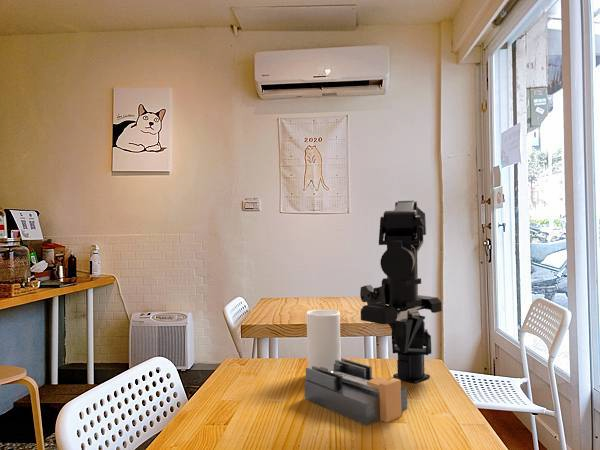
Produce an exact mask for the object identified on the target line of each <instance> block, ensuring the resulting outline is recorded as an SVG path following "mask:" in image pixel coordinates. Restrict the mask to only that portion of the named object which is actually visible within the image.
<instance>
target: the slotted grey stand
mask: <svg viewBox="0 0 600 450" xmlns="http://www.w3.org/2000/svg"><path fill="white" fill-rule="evenodd" d="M372 368H373V367H372V366H370V365H367V364H364V363H359V362H357V361H353V360H351V359H346V358H343V357H342V358H341V361H340V360H335V363H334V370H336V371H338V372H341V373H345V374H348V375H352V376H355V377H359V378H362V379H365V380H372V379H375V377H373V374H372V373H373V370H372ZM303 381H304V399H305V400H307V401H309V402H311V403H313V404H316V405H318V406H320V407H322V408H325V409H327V410H329V411H332V412H334V413H337V414H338V415H341V416H344V417H346V418H347V419H350V420H352V421H354V422H357V423H359V424H362V425H364V426H366V427H367V426H369V425H372V424H374V423H376V422H379V421H381V420H380V390H379V391H376V392H374V391H371V390H367V389H364V388H361V387H358V386H355V385H352V384H348V383H345V382H343V376H342V375H339V374H336V373H333V372H330V371H328V369H326V368H323V367H320V368H318V367H315V366H312V369H310V368H308V367H306V368H305V379H304V380H303ZM407 392H408V391H407V388H406V387H403V386H401V412H402V411H404V410H407V409H408V393H407Z"/></svg>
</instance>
